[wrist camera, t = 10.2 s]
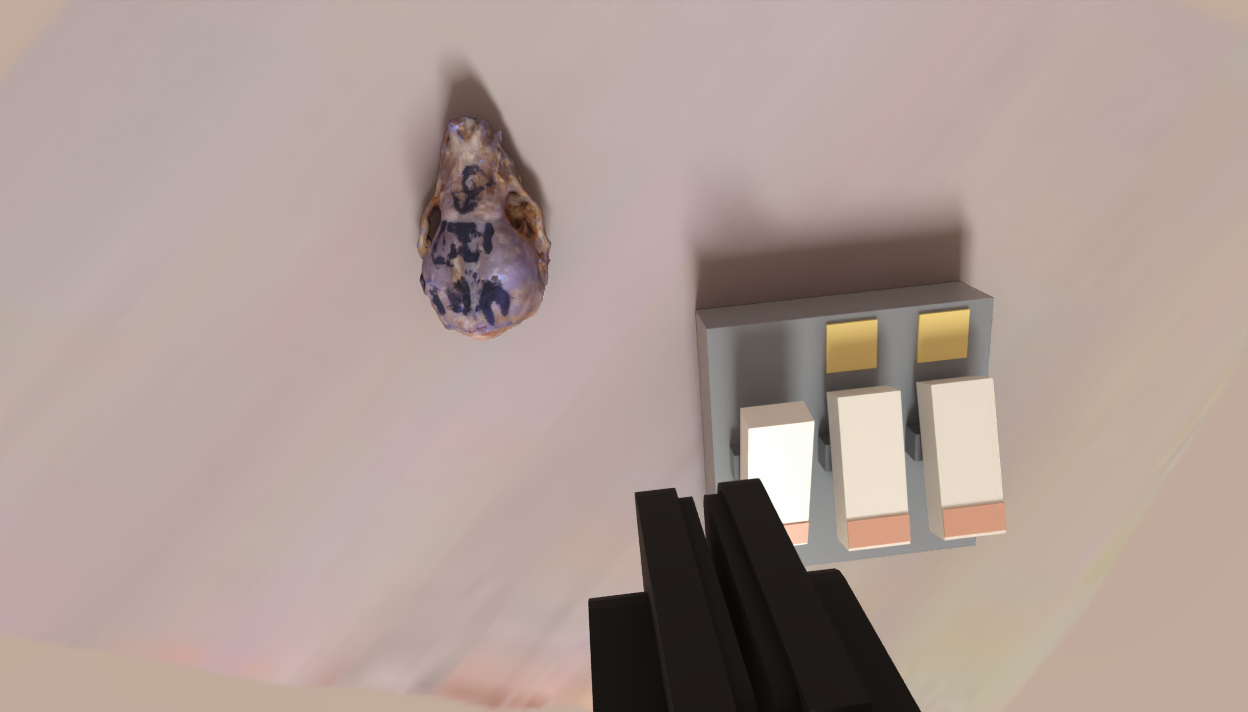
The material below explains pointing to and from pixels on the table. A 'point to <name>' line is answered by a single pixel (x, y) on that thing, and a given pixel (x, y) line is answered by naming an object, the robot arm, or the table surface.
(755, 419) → the rocker
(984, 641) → the table surface
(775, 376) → the switch unit
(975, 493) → the block
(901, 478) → the rocker
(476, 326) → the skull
